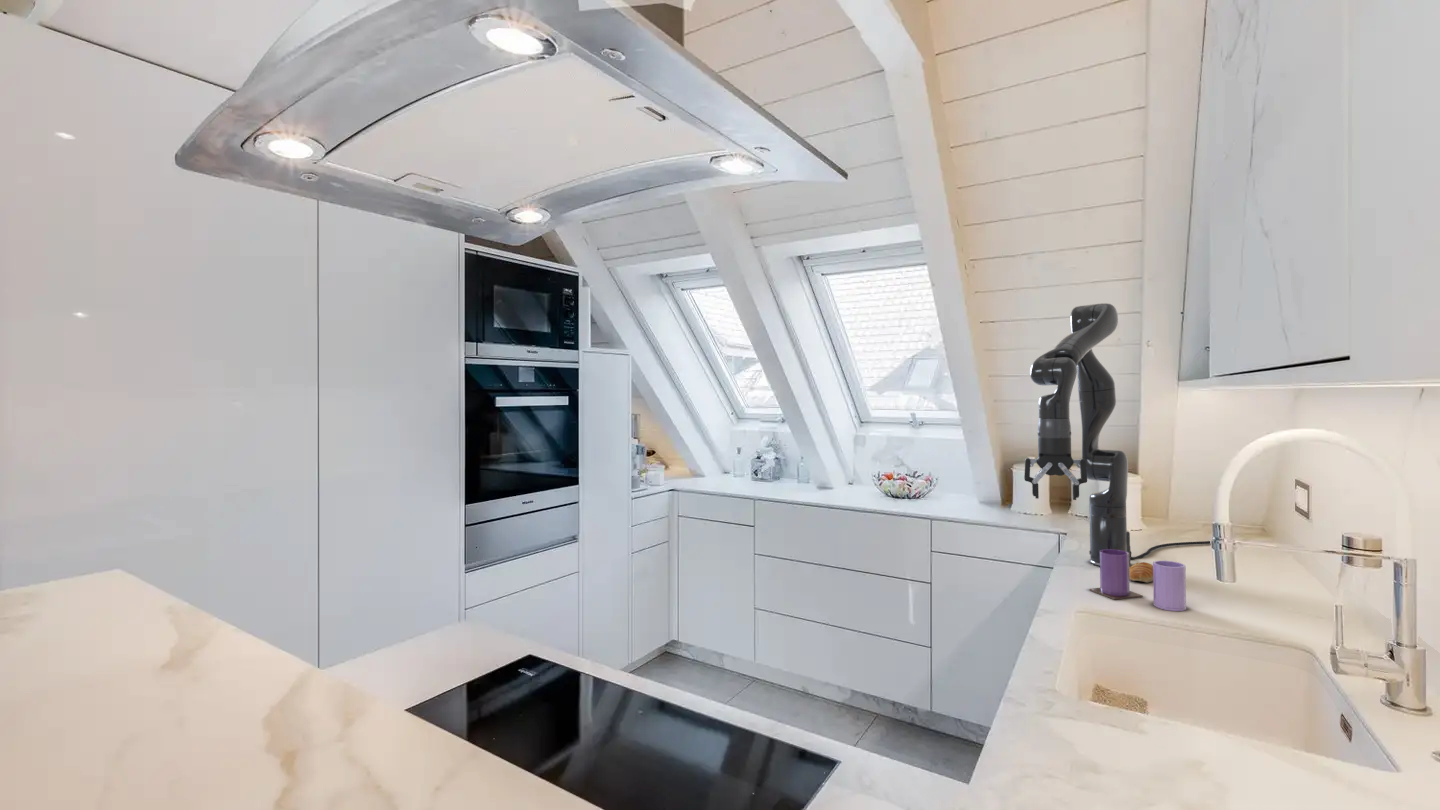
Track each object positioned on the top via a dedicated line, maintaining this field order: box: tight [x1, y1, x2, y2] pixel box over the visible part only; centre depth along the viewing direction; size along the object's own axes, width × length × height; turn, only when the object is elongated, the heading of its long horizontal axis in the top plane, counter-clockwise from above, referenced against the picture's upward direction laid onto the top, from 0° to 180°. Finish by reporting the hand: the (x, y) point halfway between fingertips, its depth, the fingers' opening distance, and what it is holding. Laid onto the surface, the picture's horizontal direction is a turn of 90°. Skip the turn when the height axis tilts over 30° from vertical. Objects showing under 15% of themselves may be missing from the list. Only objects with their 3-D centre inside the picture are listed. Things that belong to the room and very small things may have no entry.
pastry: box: [1129, 561, 1153, 584], centre depth 173 cm, size 9×7×4 cm
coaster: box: [1089, 587, 1143, 601], centre depth 162 cm, size 8×8×1 cm
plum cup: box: [1099, 549, 1131, 596], centre depth 161 cm, size 6×6×10 cm
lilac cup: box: [1152, 560, 1187, 612], centre depth 151 cm, size 6×6×10 cm
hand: (1055, 498), depth 167 cm, fingers open, 8 cm apart
